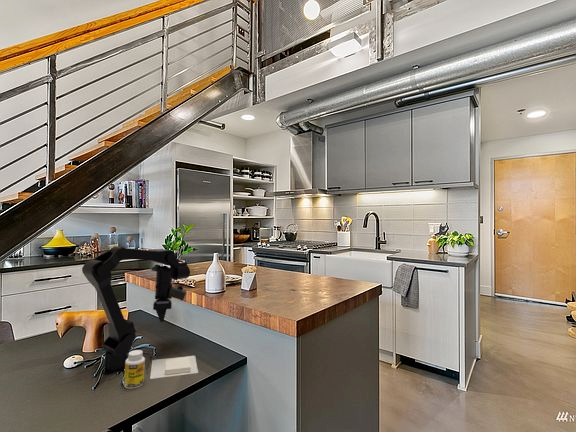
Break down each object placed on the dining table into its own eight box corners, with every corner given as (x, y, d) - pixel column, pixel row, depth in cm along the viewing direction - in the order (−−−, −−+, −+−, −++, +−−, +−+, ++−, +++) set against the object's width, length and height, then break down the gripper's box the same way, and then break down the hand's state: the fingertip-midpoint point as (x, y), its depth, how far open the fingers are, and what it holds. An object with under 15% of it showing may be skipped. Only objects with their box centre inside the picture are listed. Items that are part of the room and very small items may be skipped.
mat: (150, 380, 101) (150, 378, 101) (152, 361, 114) (152, 360, 114) (198, 373, 106) (198, 372, 106) (195, 356, 119) (195, 355, 119)
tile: (165, 364, 111) (165, 375, 104) (165, 359, 111) (165, 370, 104) (188, 361, 114) (190, 372, 106) (189, 357, 114) (190, 367, 106)
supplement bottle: (124, 391, 94) (126, 357, 94) (122, 383, 98) (124, 350, 98) (145, 387, 97) (146, 354, 97) (142, 379, 101) (143, 347, 101)
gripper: (186, 285, 116) (184, 328, 116) (184, 276, 133) (182, 313, 133) (154, 286, 112) (152, 330, 112) (156, 277, 130) (154, 315, 129)
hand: (161, 321), depth 122 cm, fingers closed
